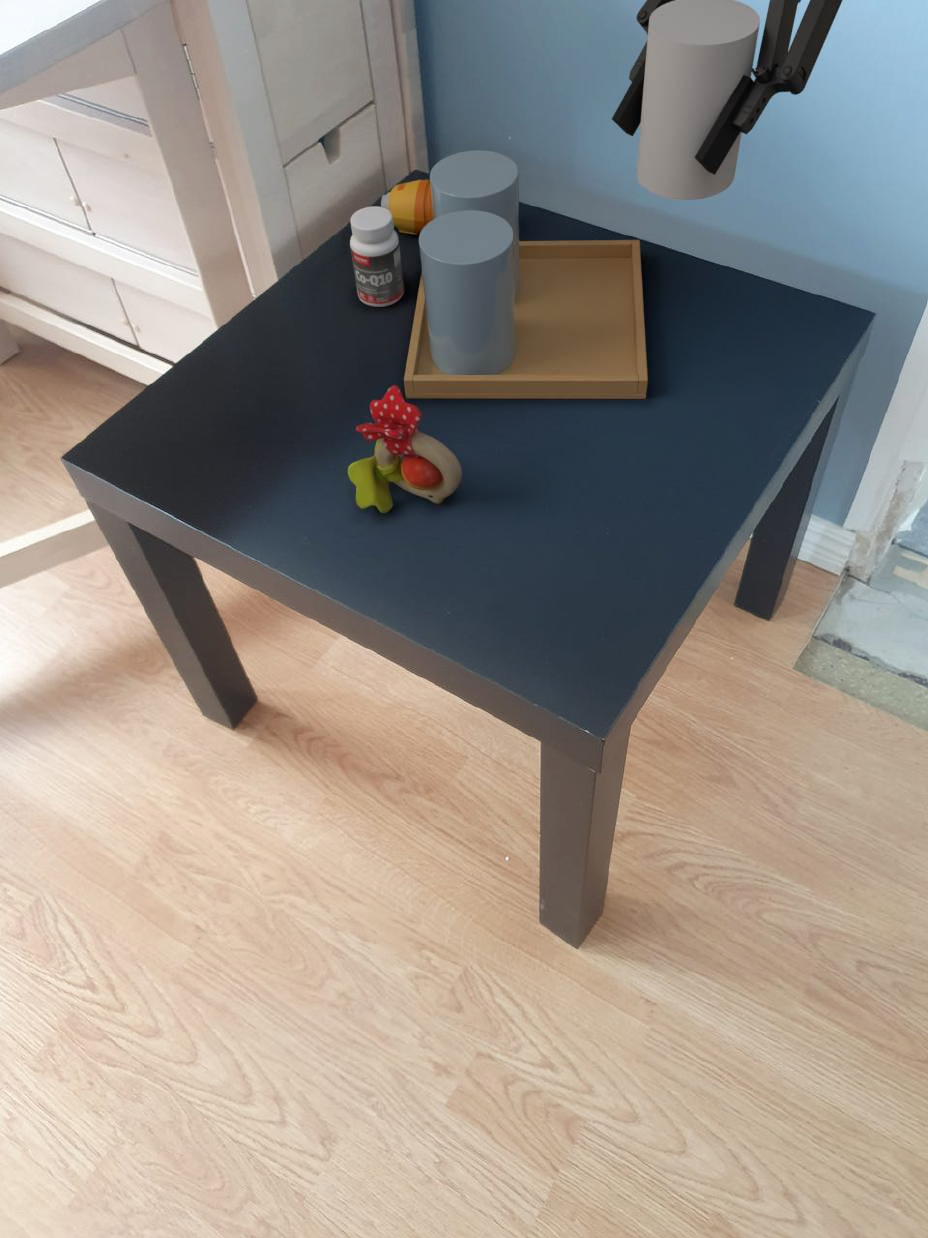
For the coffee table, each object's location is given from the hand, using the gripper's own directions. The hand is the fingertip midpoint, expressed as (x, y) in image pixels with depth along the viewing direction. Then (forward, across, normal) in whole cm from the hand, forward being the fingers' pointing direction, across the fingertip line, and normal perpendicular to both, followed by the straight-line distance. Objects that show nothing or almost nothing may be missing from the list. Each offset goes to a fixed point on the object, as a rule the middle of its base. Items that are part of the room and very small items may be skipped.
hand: (662, 146), depth 80 cm
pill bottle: (+23, +23, -3) cm, 32 cm away
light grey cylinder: (0, 0, -5) cm, 5 cm away
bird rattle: (+34, -1, +8) cm, 35 cm away
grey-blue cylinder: (+17, +16, -8) cm, 24 cm away
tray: (+18, +9, -8) cm, 21 cm away
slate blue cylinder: (+22, +9, -3) cm, 24 cm away
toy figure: (+15, +27, -11) cm, 33 cm away
